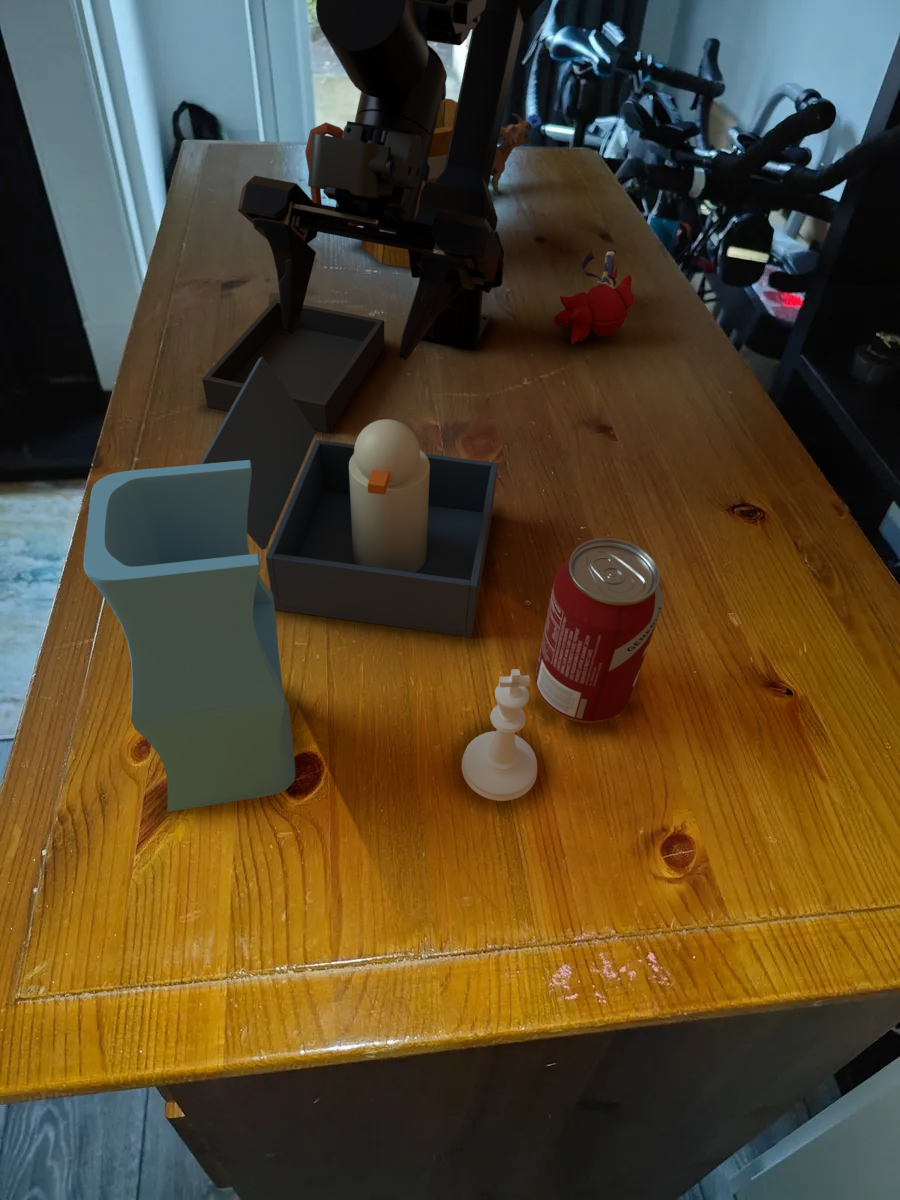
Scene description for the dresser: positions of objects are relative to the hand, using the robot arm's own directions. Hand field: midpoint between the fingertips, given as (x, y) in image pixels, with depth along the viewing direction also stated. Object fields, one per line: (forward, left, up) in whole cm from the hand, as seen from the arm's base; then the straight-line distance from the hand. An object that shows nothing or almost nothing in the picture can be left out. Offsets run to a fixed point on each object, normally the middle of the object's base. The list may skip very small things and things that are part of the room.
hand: (344, 345), depth 63 cm
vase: (+27, +2, -14) cm, 31 cm away
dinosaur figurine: (-67, -6, -14) cm, 69 cm away
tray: (-15, -11, -14) cm, 23 cm away
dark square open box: (+7, +6, -14) cm, 17 cm away
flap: (+8, -3, -4) cm, 10 cm away
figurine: (-37, +15, -14) cm, 42 cm away
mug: (-46, -12, -14) cm, 49 cm away
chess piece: (+23, +19, -14) cm, 33 cm away
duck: (+7, +6, -13) cm, 16 cm away
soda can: (+15, +23, -14) cm, 31 cm away
